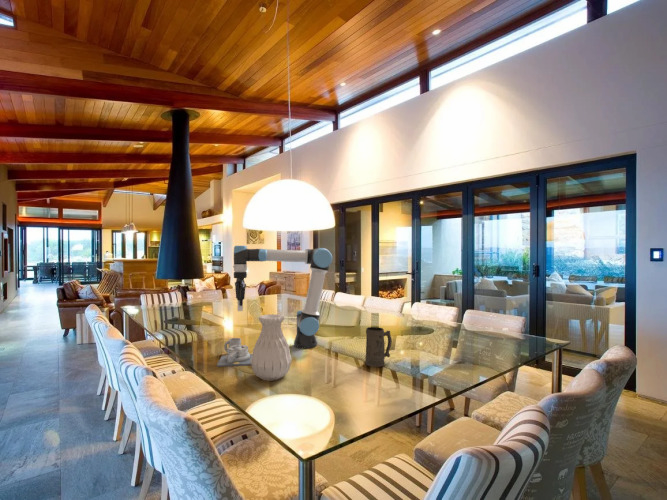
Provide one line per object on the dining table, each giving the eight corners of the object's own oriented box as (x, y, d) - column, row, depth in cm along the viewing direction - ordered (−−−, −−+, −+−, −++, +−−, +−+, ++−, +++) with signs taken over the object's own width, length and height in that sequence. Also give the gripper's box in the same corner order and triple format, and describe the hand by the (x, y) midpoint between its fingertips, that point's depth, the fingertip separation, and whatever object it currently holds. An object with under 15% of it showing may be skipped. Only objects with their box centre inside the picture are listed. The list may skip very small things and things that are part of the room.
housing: (257, 355, 213) (257, 342, 213) (254, 365, 195) (254, 351, 195) (222, 356, 210) (222, 344, 210) (216, 366, 192) (216, 352, 192)
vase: (273, 387, 164) (273, 322, 164) (242, 379, 175) (242, 317, 174) (299, 374, 181) (299, 315, 181) (270, 367, 192) (270, 311, 191)
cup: (239, 356, 212) (239, 341, 212) (222, 356, 212) (222, 340, 212) (242, 352, 219) (242, 337, 219) (226, 352, 219) (226, 337, 219)
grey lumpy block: (231, 351, 208) (231, 344, 208) (249, 351, 208) (249, 344, 208) (219, 362, 188) (219, 355, 188) (240, 362, 188) (240, 355, 188)
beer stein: (370, 368, 190) (373, 330, 191) (360, 362, 200) (362, 326, 200) (394, 366, 197) (396, 329, 198) (382, 360, 207) (385, 325, 207)
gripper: (230, 271, 217) (230, 310, 217) (237, 272, 206) (237, 313, 206) (242, 270, 221) (242, 308, 221) (250, 271, 210) (250, 311, 210)
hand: (240, 310), depth 214 cm, fingers closed
